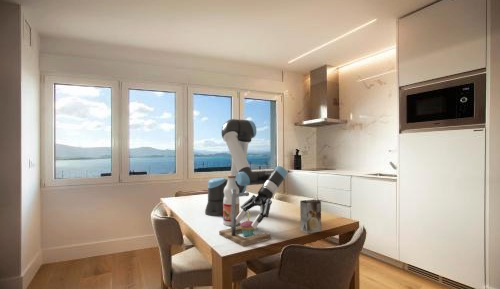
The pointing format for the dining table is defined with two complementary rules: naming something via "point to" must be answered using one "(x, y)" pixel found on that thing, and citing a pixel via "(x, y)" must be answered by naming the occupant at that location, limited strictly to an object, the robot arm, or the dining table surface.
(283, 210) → the dining table surface
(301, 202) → the coffee box
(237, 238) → the wooden u-shaped base
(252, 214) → the dining table surface
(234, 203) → the hook post
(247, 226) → the cupcake
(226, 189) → the fruit juice
